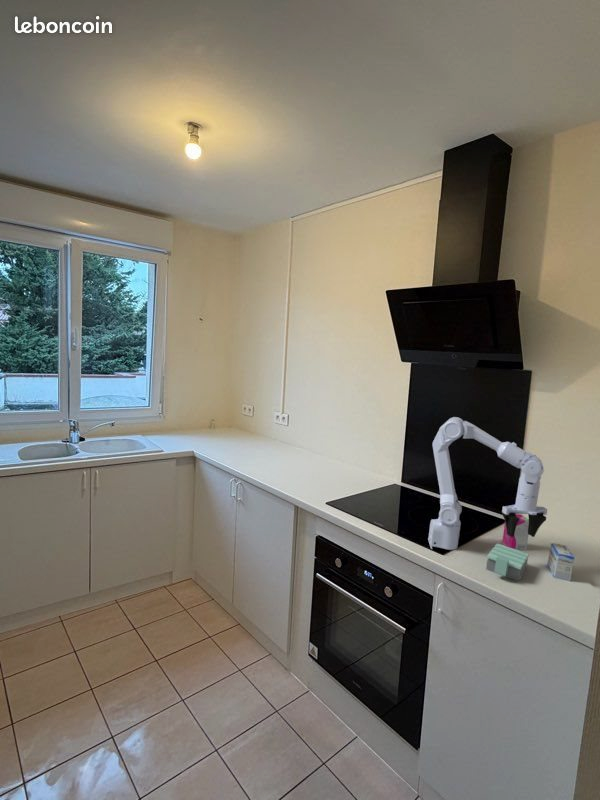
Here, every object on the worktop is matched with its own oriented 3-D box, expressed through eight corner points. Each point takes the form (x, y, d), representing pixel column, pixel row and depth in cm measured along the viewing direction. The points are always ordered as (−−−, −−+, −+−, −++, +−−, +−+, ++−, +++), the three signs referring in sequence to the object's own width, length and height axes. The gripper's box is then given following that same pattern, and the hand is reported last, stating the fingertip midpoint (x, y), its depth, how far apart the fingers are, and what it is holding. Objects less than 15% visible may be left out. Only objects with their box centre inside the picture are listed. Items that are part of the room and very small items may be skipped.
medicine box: (546, 567, 132) (550, 542, 131) (562, 571, 131) (566, 545, 130) (553, 580, 125) (558, 553, 123) (570, 584, 123) (575, 556, 122)
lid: (483, 567, 123) (485, 553, 123) (496, 551, 135) (498, 538, 134) (517, 580, 118) (519, 566, 117) (527, 562, 129) (529, 549, 128)
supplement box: (516, 544, 147) (521, 513, 146) (526, 552, 141) (531, 520, 140) (501, 543, 147) (505, 512, 146) (510, 551, 141) (514, 519, 140)
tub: (485, 571, 126) (487, 558, 126) (495, 559, 135) (497, 546, 134) (518, 584, 121) (520, 569, 120) (525, 570, 129) (528, 557, 129)
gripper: (516, 498, 123) (509, 541, 125) (557, 499, 126) (550, 541, 128) (500, 490, 130) (494, 531, 132) (540, 491, 133) (533, 531, 135)
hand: (520, 535), depth 130 cm, fingers open, 7 cm apart
